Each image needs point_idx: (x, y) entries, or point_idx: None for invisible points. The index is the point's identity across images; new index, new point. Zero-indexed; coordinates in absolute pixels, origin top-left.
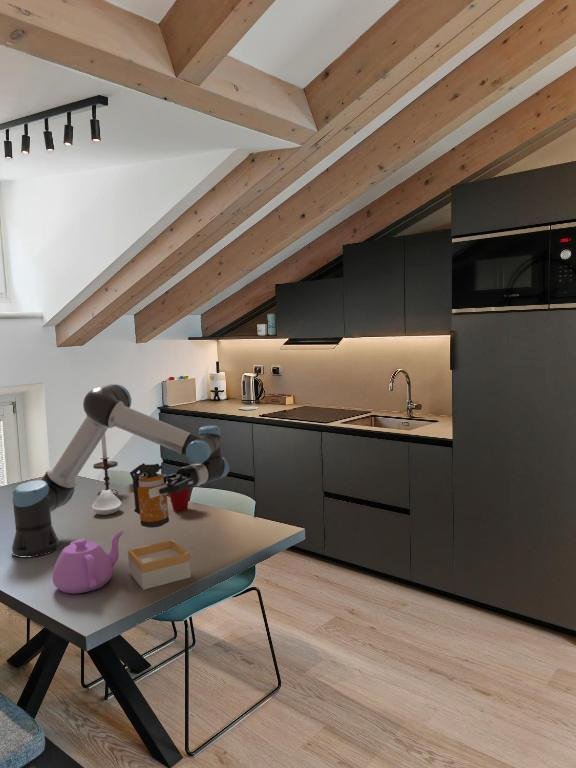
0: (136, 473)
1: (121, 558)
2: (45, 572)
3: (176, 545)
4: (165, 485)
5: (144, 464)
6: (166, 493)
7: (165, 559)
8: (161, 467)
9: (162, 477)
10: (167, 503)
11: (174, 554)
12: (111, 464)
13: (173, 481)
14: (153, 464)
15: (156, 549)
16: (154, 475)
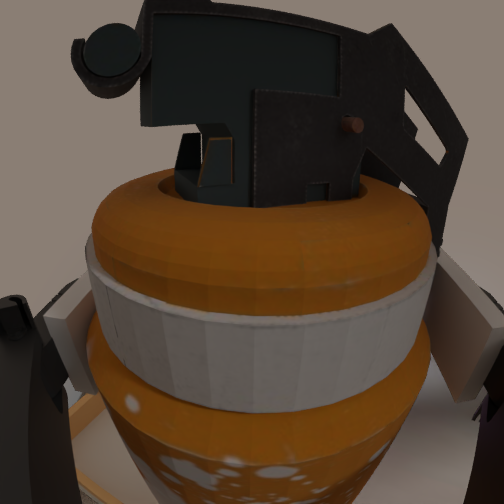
0: (446, 162)
1: (390, 489)
2: (430, 351)
3: (111, 495)
4: (53, 305)
5: (377, 35)
6: (128, 451)
7: (87, 394)
8: (76, 65)
9: (96, 253)
10: (156, 499)
11: (121, 491)
12: None
13: (11, 488)
14: (248, 7)
15: None
16: (192, 173)
